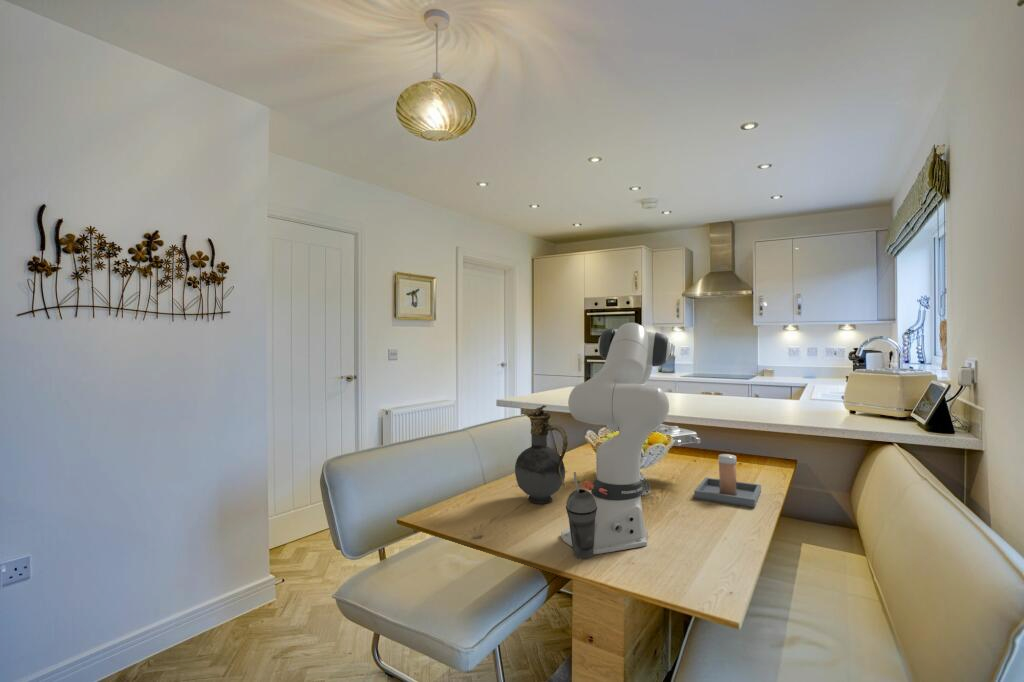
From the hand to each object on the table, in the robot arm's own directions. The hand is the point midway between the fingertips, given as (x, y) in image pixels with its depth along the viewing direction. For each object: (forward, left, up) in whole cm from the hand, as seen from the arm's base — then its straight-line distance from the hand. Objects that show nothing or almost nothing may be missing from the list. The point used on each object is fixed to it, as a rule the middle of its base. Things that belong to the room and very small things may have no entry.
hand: (689, 442), depth 166 cm
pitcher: (-51, +13, -15) cm, 54 cm away
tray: (+2, -13, -15) cm, 20 cm away
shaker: (+2, -13, -14) cm, 20 cm away
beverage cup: (-63, -23, -15) cm, 69 cm away
